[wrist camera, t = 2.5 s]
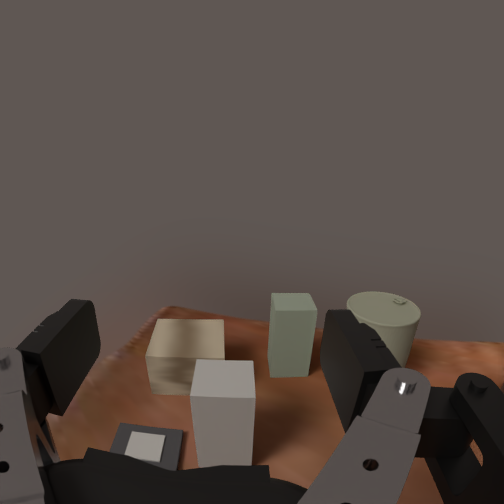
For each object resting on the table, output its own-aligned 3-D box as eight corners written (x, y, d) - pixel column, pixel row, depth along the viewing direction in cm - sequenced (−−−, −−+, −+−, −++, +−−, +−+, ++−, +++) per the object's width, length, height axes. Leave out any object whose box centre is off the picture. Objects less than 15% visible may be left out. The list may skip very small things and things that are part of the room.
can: (411, 388, 37) (436, 308, 33) (363, 416, 33) (389, 329, 29) (366, 357, 45) (382, 283, 41) (318, 377, 40) (331, 295, 37)
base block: (223, 355, 45) (223, 319, 44) (225, 396, 37) (224, 357, 35) (162, 354, 44) (157, 318, 43) (152, 394, 36) (145, 356, 34)
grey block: (249, 433, 31) (253, 360, 28) (251, 468, 26) (255, 397, 23) (202, 431, 31) (196, 359, 28) (198, 467, 26) (189, 395, 23)
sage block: (301, 355, 45) (309, 293, 43) (307, 376, 41) (317, 310, 38) (267, 356, 45) (271, 293, 42) (270, 377, 40) (275, 310, 38)
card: (183, 433, 30) (182, 428, 30) (176, 476, 24) (175, 472, 24) (121, 426, 30) (119, 421, 29) (107, 466, 24) (105, 461, 24)
